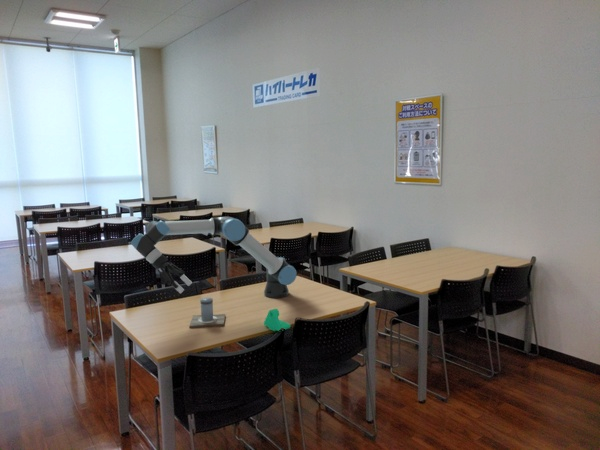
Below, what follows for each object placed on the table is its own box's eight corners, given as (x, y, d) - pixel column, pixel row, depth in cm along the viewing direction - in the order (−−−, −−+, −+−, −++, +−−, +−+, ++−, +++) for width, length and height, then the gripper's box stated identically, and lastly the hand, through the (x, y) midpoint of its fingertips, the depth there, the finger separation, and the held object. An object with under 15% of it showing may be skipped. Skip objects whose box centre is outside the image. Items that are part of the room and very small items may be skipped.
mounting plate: (193, 317, 245) (193, 315, 245) (225, 316, 246) (225, 313, 246) (189, 328, 230) (189, 325, 230) (223, 326, 232) (223, 323, 231)
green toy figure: (291, 329, 227) (291, 309, 225) (279, 333, 222) (279, 313, 220) (275, 323, 236) (275, 304, 234) (264, 327, 230) (263, 307, 229)
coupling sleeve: (202, 317, 240) (201, 297, 239) (213, 317, 241) (213, 297, 239) (200, 322, 234) (199, 301, 233) (212, 321, 235) (212, 300, 233)
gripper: (160, 258, 248) (188, 286, 250) (142, 269, 224) (173, 300, 225) (170, 249, 247) (198, 276, 249) (152, 259, 223) (183, 290, 224)
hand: (186, 288), depth 237 cm, fingers open, 13 cm apart
